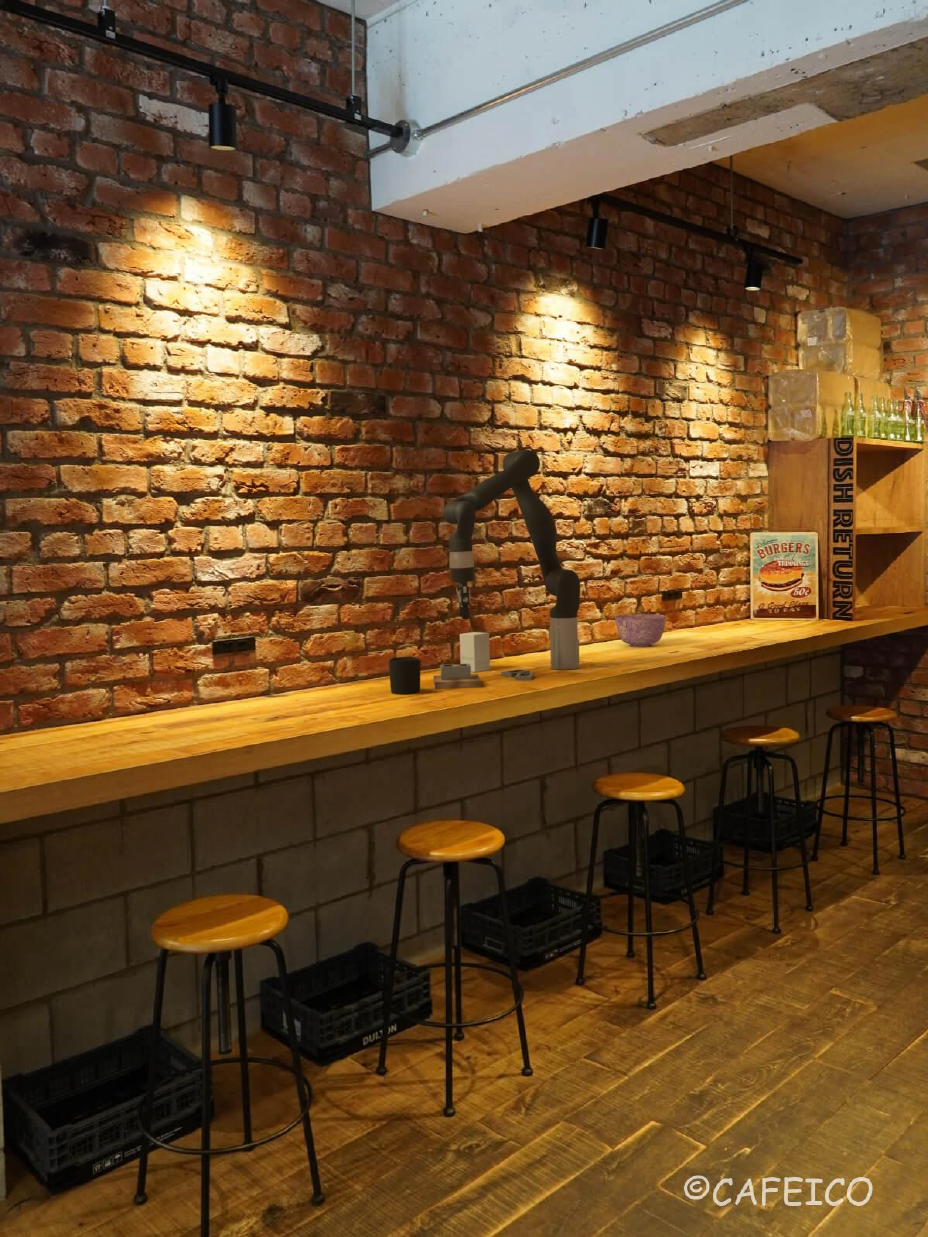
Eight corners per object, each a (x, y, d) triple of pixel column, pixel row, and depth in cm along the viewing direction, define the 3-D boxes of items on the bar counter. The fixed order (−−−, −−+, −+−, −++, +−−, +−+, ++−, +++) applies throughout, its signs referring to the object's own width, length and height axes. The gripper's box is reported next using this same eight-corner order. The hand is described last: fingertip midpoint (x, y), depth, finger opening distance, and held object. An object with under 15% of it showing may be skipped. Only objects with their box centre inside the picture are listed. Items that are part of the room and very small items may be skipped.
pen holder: (427, 691, 311) (426, 657, 310) (408, 695, 303) (407, 661, 303) (402, 688, 316) (401, 656, 316) (383, 693, 309) (382, 659, 308)
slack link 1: (519, 672, 344) (519, 669, 343) (529, 674, 340) (529, 670, 340) (501, 675, 339) (501, 671, 338) (511, 677, 335) (511, 673, 335)
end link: (469, 676, 325) (469, 663, 325) (471, 679, 319) (470, 666, 319) (440, 677, 324) (440, 664, 324) (441, 680, 318) (441, 667, 318)
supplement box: (490, 670, 352) (490, 632, 351) (474, 672, 347) (473, 634, 346) (476, 668, 357) (475, 631, 356) (459, 670, 353) (458, 633, 351)
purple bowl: (611, 648, 402) (610, 618, 401) (619, 642, 421) (618, 614, 420) (663, 649, 396) (663, 619, 395) (669, 643, 415) (669, 614, 414)
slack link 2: (518, 676, 336) (518, 672, 336) (534, 676, 335) (534, 672, 335) (515, 680, 328) (515, 676, 328) (530, 680, 327) (530, 676, 327)
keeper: (477, 680, 329) (477, 661, 329) (481, 687, 315) (481, 667, 315) (433, 682, 328) (433, 663, 328) (435, 688, 315) (434, 669, 314)
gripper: (476, 566, 317) (478, 619, 319) (471, 564, 331) (474, 615, 333) (451, 567, 316) (454, 621, 318) (448, 565, 331) (450, 616, 332)
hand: (464, 618), depth 325 cm, fingers open, 8 cm apart
